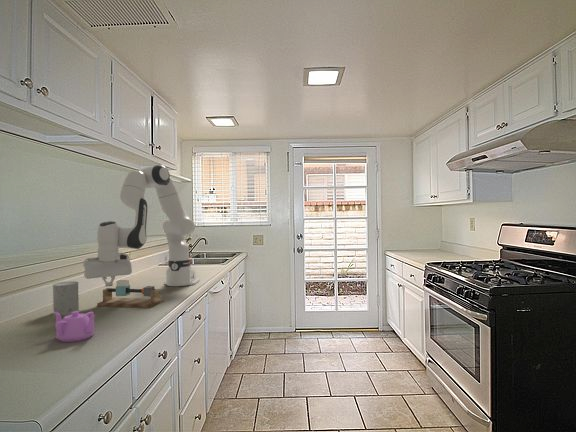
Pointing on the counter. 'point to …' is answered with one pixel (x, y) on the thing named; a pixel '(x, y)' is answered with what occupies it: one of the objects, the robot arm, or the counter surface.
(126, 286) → the sleeve
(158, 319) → the counter surface
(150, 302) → the rod slider board
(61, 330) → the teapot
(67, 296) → the grey upright cylinder
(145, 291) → the rail
